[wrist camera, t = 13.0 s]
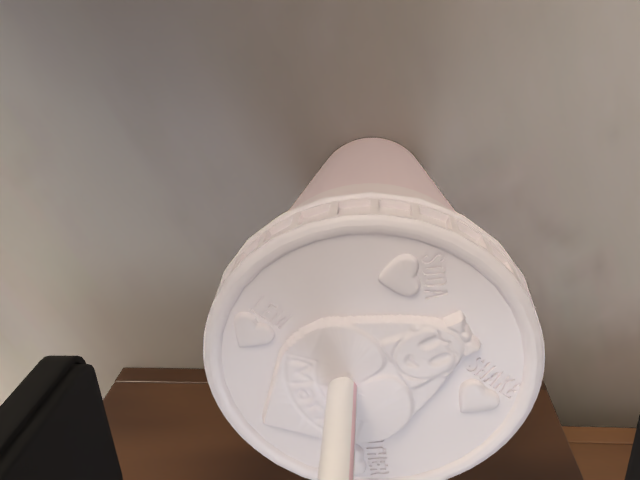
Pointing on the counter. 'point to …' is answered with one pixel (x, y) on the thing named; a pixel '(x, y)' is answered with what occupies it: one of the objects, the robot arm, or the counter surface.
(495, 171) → the counter surface
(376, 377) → the smoothie
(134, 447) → the cabinet
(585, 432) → the drawer
